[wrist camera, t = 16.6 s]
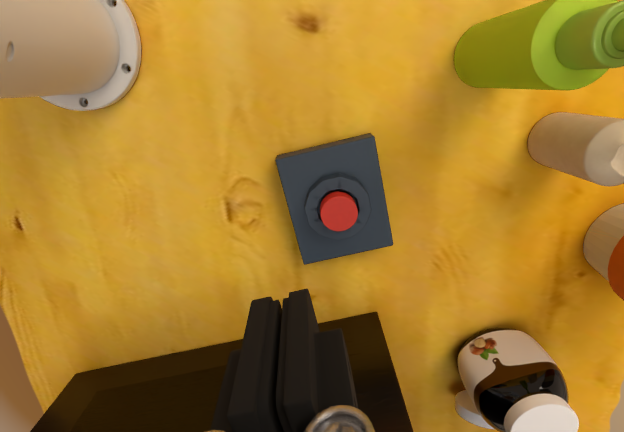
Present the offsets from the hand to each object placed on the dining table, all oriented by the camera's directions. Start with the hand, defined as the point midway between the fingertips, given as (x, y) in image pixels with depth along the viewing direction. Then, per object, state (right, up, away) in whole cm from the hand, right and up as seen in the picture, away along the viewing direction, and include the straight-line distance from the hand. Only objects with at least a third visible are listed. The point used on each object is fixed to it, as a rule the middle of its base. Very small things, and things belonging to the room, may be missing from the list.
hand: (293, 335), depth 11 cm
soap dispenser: (+17, +19, +25) cm, 36 cm away
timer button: (+3, +4, +26) cm, 26 cm away
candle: (+26, +12, +28) cm, 40 cm away
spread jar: (+23, -16, +38) cm, 47 cm away
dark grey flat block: (+3, +6, +29) cm, 30 cm away
